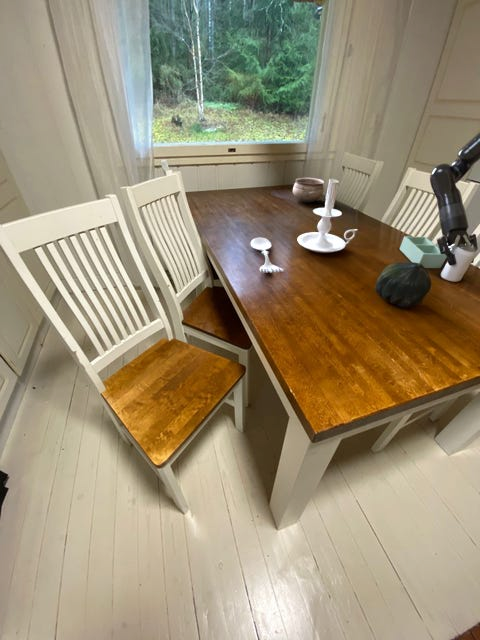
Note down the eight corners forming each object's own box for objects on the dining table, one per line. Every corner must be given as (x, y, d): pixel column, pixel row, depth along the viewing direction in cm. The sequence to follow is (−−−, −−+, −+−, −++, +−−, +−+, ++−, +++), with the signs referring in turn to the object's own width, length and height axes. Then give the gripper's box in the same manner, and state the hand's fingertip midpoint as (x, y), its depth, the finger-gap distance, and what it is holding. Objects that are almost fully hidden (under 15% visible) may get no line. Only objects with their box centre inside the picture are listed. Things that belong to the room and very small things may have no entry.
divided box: (420, 249, 121) (425, 236, 117) (440, 268, 107) (447, 254, 104) (399, 248, 121) (404, 236, 117) (417, 267, 108) (423, 254, 104)
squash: (382, 266, 96) (391, 247, 82) (429, 279, 91) (447, 261, 77) (367, 303, 95) (373, 289, 81) (413, 318, 90) (429, 306, 76)
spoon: (259, 278, 99) (259, 270, 97) (249, 242, 124) (249, 235, 122) (283, 278, 100) (284, 269, 98) (268, 242, 125) (269, 235, 123)
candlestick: (360, 258, 113) (383, 185, 95) (300, 258, 113) (313, 184, 95) (344, 239, 129) (362, 173, 111) (292, 238, 129) (302, 172, 111)
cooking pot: (287, 196, 185) (290, 176, 177) (315, 196, 186) (318, 176, 178) (296, 207, 165) (299, 185, 158) (326, 207, 167) (331, 185, 159)
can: (460, 284, 98) (479, 253, 90) (439, 279, 101) (456, 248, 93) (459, 276, 102) (478, 246, 95) (440, 271, 105) (456, 242, 97)
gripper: (444, 215, 93) (453, 262, 92) (480, 213, 95) (489, 259, 94) (426, 225, 101) (434, 268, 99) (460, 223, 103) (468, 265, 101)
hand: (461, 264), depth 96 cm, fingers closed on can, 6 cm apart
